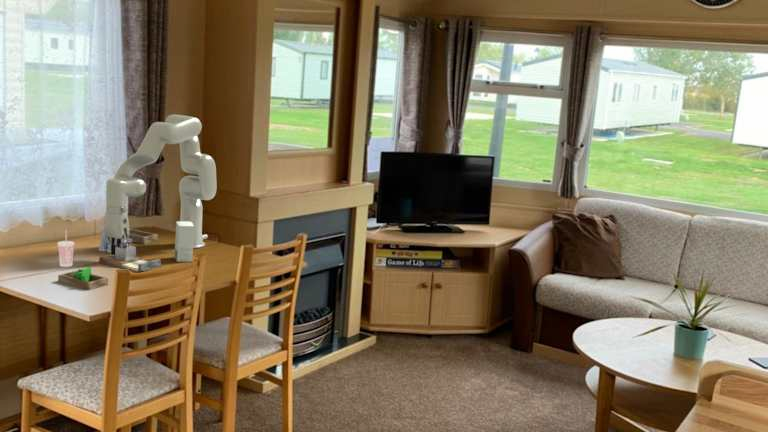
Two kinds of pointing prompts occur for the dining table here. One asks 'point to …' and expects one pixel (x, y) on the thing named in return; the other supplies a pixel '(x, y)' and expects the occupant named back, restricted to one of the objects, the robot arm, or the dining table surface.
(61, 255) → the beverage cup
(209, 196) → the robot arm
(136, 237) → the clip frame
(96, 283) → the brown wooden tray
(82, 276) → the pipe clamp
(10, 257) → the dining table surface
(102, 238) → the hippopotamus toy
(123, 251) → the clip block
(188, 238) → the skincare box
